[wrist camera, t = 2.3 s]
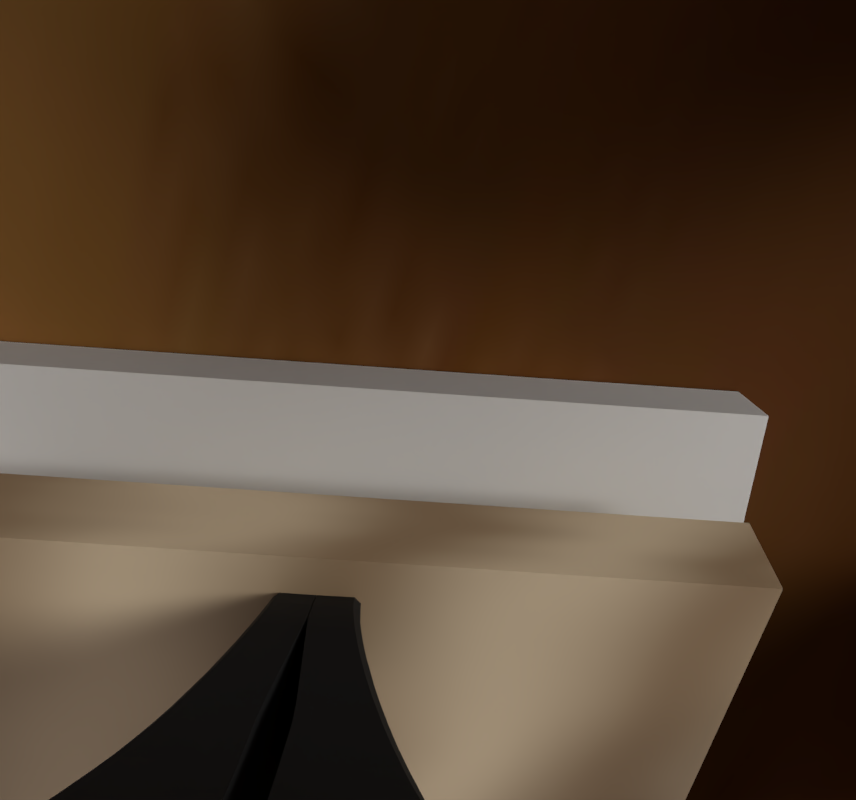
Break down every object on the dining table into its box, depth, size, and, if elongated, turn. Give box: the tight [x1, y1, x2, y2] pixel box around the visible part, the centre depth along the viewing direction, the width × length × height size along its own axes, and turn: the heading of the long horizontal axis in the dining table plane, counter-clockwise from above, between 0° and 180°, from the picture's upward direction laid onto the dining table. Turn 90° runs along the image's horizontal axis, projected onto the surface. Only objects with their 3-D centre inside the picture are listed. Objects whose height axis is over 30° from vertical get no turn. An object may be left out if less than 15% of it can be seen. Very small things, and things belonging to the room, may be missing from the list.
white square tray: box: [0, 341, 768, 523], centre depth 17 cm, size 16×17×3 cm
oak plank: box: [0, 473, 783, 800], centre depth 14 cm, size 14×9×2 cm, turn 86°
